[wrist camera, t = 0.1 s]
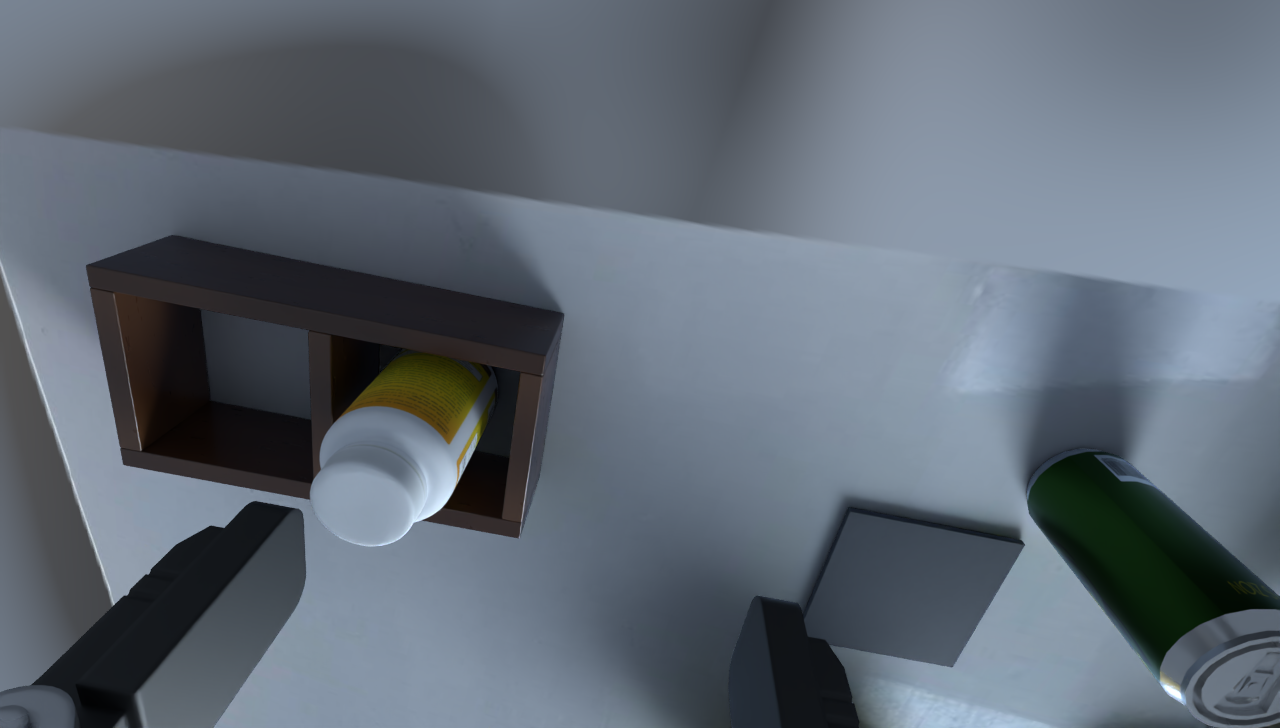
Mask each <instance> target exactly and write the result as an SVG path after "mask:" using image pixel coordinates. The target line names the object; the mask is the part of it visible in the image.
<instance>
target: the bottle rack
mask: <svg viewBox="0 0 1280 728" xmlns="http://www.w3.org/2000/svg"><path fill="white" fill-rule="evenodd" d="M86 270H87V275H88V280H89V286H90V287H92V288H90V292H91V297H92V303H93V308H94V313H95V318H96V323H97V329H98V334H99V339H100V344H101V350H102V355H103V360H104V365H105V371H106V376H107V381H108V386H109V391H110V397H111V402H112V407H113V412H114V418H115V423H116V428H117V433H118V439H119V444H120V447H121V449H120V450H121V455H122V460H123V464H124V465H126V466H132V467H137V468H142V469H148V470H153V471H158V472H164V473H169V474H175V475H180V476H185V477H191V478H196V479H202V480H207V481H212V482H218V483H223V484H228V485H234V486H239V487H245V488H250V489H255V490H261V491H266V492H271V493H277V494H282V495H288V496H293V497H298V498H304V499H309V500H310V489H311V485H312V482H313V480H314V478H315V477H316V475H317V474H318V473H319V472H320V470H321V467H320V448H321V444H322V441H323V439H324V437H325V435H326V433H327V432H328V430H329V429H330V428H331V426H332V425H333V424H334V423H335V422H336V420H337V419H338V418H339V417H340V416H341V415H342V414H343V413H344V412H345V411H346V410H347V409H348V407H349V406H350V405H351V404H352V403H353V402H354V401H355V400H356V399H357V398H358V397H359V395H360V394H361V393H362V392H363V391H364V390H365V389H366V388H367V387H368V386H369V385H370V384H371V383H372V382H373V381H374V379H375V378H376V377H377V376H378V364H379V344H383V345H388V346H393V347H398V348H403V349H408V350H413V351H418V352H423V353H428V354H434V355H439V356H444V357H449V358H454V359H459V360H464V361H469V362H474V363H480V364H485V365H490V366H495V367H500V368H505V369H510V370H515V371H520V378H519V386H518V393H517V401H516V409H515V417H514V425H513V433H512V441H511V449H510V457H509V458H508V457H502V456H497V455H492V454H487V453H481V452H476V451H474V452H473V454H472V456H471V458H470V460H469V462H468V464H467V466H466V467H465V469H464V471H463V473H462V475H461V477H460V479H459V481H458V483H457V485H456V487H455V489H454V491H453V493H452V495H451V496H450V498H449V500H448V501H447V502H446V504H445V505H444V506H443V507H442V508H441V509H440V510H439V511H437V512H436V513H435V514H433V515H432V516H430V517H428V518H426V519H424V520H422V521H428V522H433V523H438V524H444V525H449V526H455V527H460V528H465V529H471V530H476V531H481V532H487V533H492V534H498V535H503V536H508V537H514V538H520V536H521V533H522V530H523V527H524V524H525V521H526V518H527V515H528V512H529V508H530V505H531V502H532V499H533V496H534V493H535V490H536V487H537V484H538V481H539V477H540V471H541V464H542V458H543V451H544V445H545V438H546V431H547V425H548V418H549V412H550V405H551V399H552V392H553V386H554V379H555V373H556V366H557V360H558V353H559V347H560V340H561V334H562V333H561V332H562V327H563V321H564V314H563V313H559V312H554V311H549V310H544V309H539V308H534V307H529V306H524V305H519V304H514V303H509V302H504V301H499V300H494V299H489V298H484V297H479V296H474V295H469V294H464V293H459V292H454V291H449V290H444V289H439V288H434V287H429V286H424V285H419V284H414V283H409V282H404V281H399V280H394V279H389V278H384V277H379V276H374V275H369V274H364V273H359V272H354V271H349V270H344V269H339V268H334V267H329V266H324V265H319V264H314V263H309V262H304V261H299V260H294V259H289V258H284V257H279V256H274V255H269V254H264V253H259V252H254V251H249V250H244V249H239V248H234V247H229V246H224V245H219V244H214V243H209V242H204V241H199V240H194V239H189V238H184V237H179V236H174V235H171V236H168V237H165V238H162V239H159V240H156V241H154V242H151V243H148V244H145V245H142V246H139V247H136V248H134V249H131V250H128V251H125V252H122V253H119V254H117V255H114V256H111V257H108V258H105V259H102V260H99V261H97V262H94V263H91V264H88V265H86ZM200 309H204V310H209V311H214V312H219V313H224V314H229V315H234V316H240V317H245V318H250V319H255V320H260V321H265V322H270V323H275V324H280V325H286V326H291V327H296V328H301V329H306V330H309V332H308V340H309V369H310V398H311V420H308V419H303V418H298V417H292V416H287V415H282V414H277V413H271V412H266V411H261V410H256V409H250V408H245V407H240V406H235V405H229V404H224V403H219V402H214V401H210V393H209V384H208V375H207V366H206V357H205V348H204V340H203V331H202V322H201V313H200Z"/></svg>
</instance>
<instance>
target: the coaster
mask: <svg viewBox="0 0 1280 728" xmlns="http://www.w3.org/2000/svg"><path fill="white" fill-rule="evenodd" d="M1024 546H1025V544H1024V543H1023V541H1022V540H1017V539H1012V538H1007V537H1002V536H997V535H991V534H986V533H981V532H976V531H970V530H965V529H960V528H955V527H950V526H944V525H939V524H934V523H929V522H923V521H918V520H913V519H908V518H903V517H897V516H892V515H887V514H882V513H876V512H871V511H866V510H861V509H856V508H850V507H848V509H847V512H846V514H845V516H844V519H843V521H842V524H841V526H840V528H839V531H838V533H837V535H836V538H835V540H834V543H833V545H832V547H831V550H830V552H829V554H828V557H827V559H826V562H825V564H824V566H823V569H822V571H821V573H820V576H819V578H818V581H817V583H816V585H815V588H814V590H813V592H812V595H811V597H810V599H809V602H808V604H807V607H806V609H805V611H804V614H803V618H804V622H805V627H806V631H807V635H808V637H813V638H818V639H824V640H826V642H827V643H828V645H833V646H838V647H844V648H849V649H854V650H860V651H865V652H871V653H876V654H882V655H887V656H893V657H898V658H904V659H909V660H915V661H920V662H926V663H931V664H937V665H942V666H947V667H953V666H954V664H955V662H956V661H957V659H958V657H959V656H960V654H961V652H962V650H963V649H964V647H965V645H966V644H967V642H968V640H969V639H970V637H971V635H972V634H973V632H974V630H975V628H976V627H977V625H978V623H979V622H980V620H981V618H982V617H983V615H984V613H985V612H986V610H987V608H988V607H989V605H990V603H991V601H992V600H993V598H994V596H995V595H996V593H997V591H998V590H999V588H1000V586H1001V585H1002V583H1003V581H1004V579H1005V578H1006V576H1007V574H1008V573H1009V571H1010V569H1011V568H1012V566H1013V564H1014V563H1015V561H1016V559H1017V557H1018V556H1019V554H1020V552H1021V551H1022V549H1023V547H1024Z"/></svg>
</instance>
